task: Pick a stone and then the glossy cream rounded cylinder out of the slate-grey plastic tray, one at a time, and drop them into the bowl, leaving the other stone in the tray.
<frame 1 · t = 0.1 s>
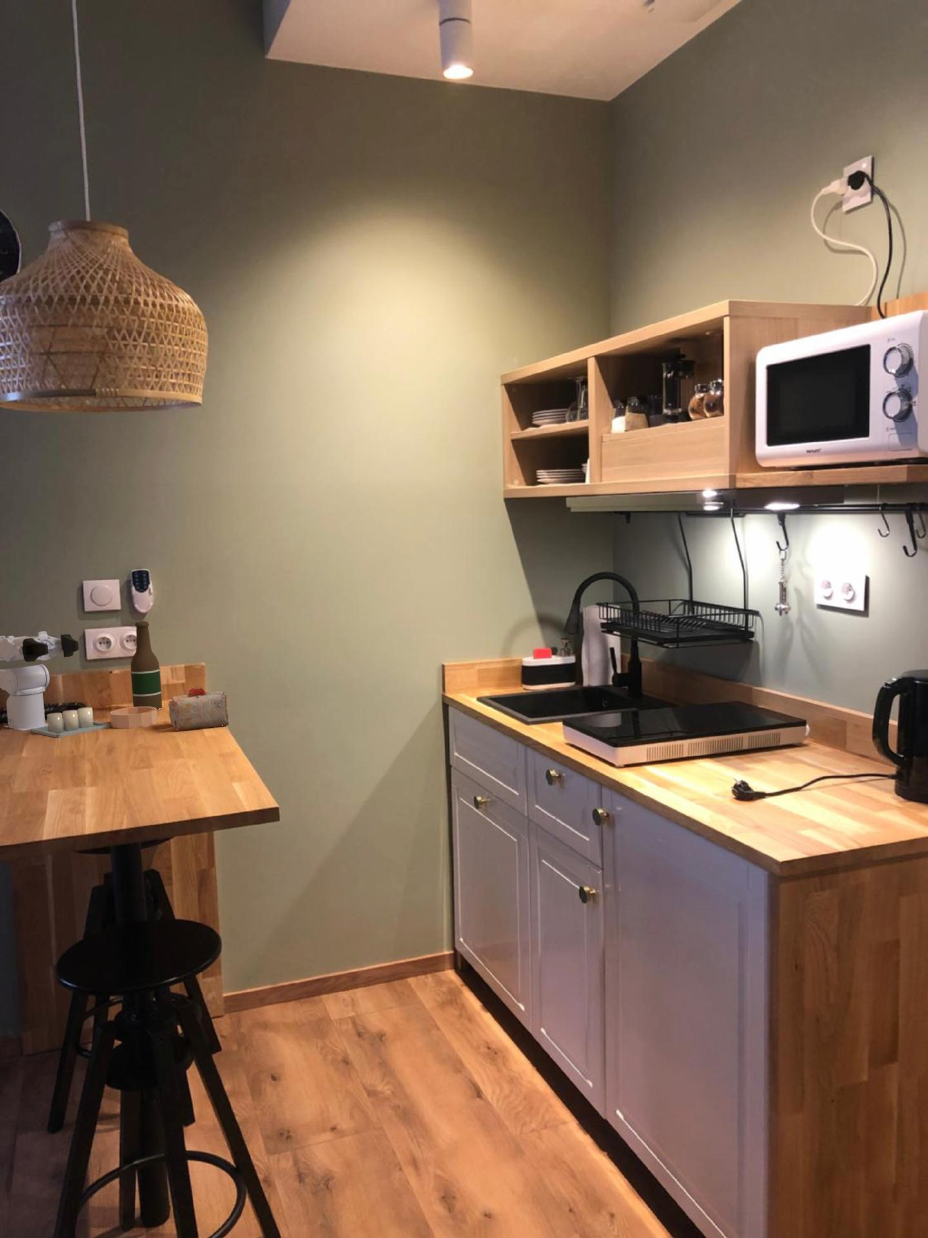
hand: (62, 647, 247), 22 cm above the counter, tool horizontal, fingers open, 7 cm apart
weathered grey box: (199, 728, 255), on the counter
bowl: (134, 725, 259), on the counter
tray: (71, 731, 255), on the counter
beer bottle: (148, 710, 280), on the counter
stone a: (86, 726, 258), resting on tray
stone c: (55, 732, 252), resting on tray
glossy cream rounded cylinder: (71, 729, 255), resting on tray
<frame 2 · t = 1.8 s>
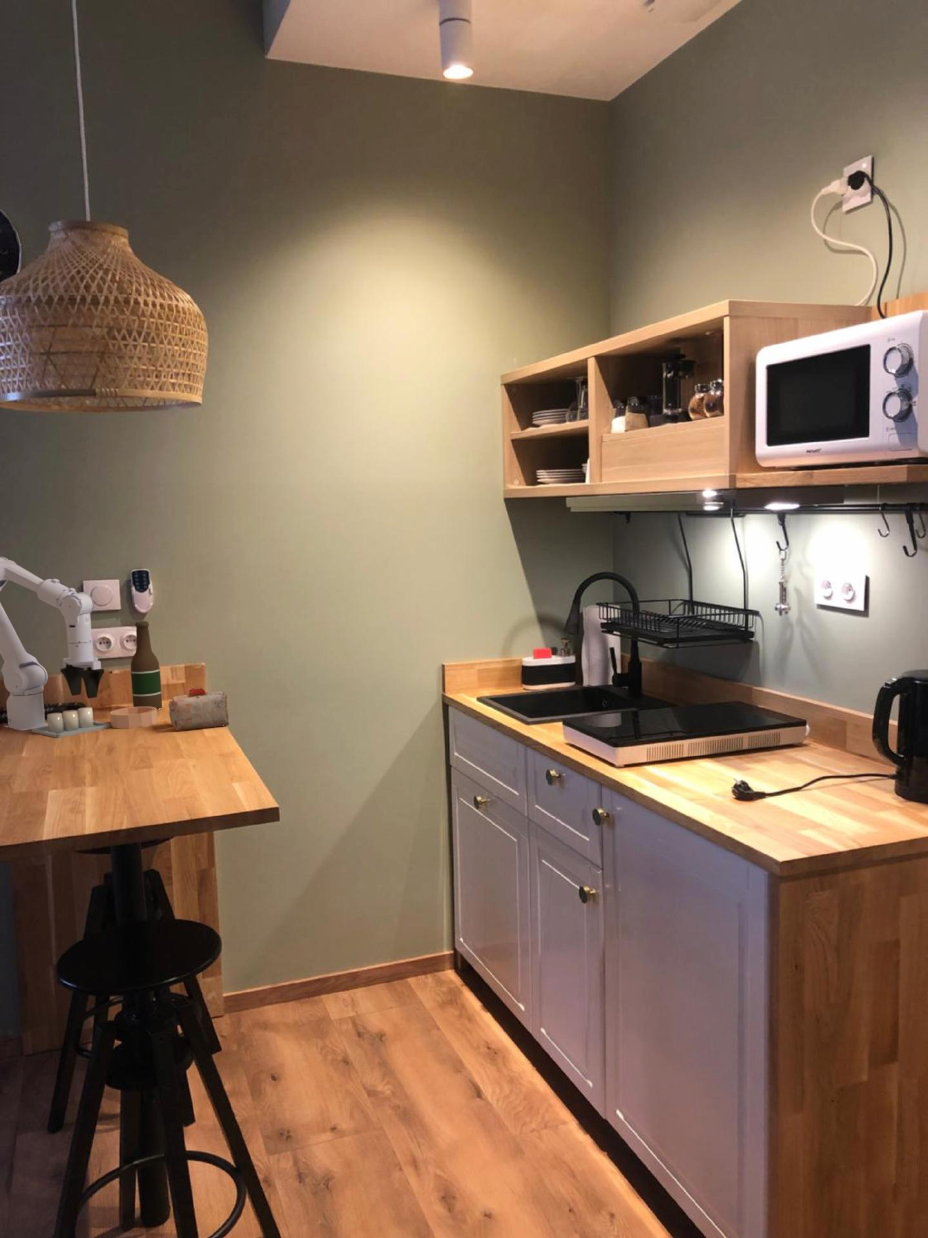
hand: (84, 696, 257), 8 cm above the counter, tool pointing down, fingers open, 7 cm apart
nothing on the counter moved.
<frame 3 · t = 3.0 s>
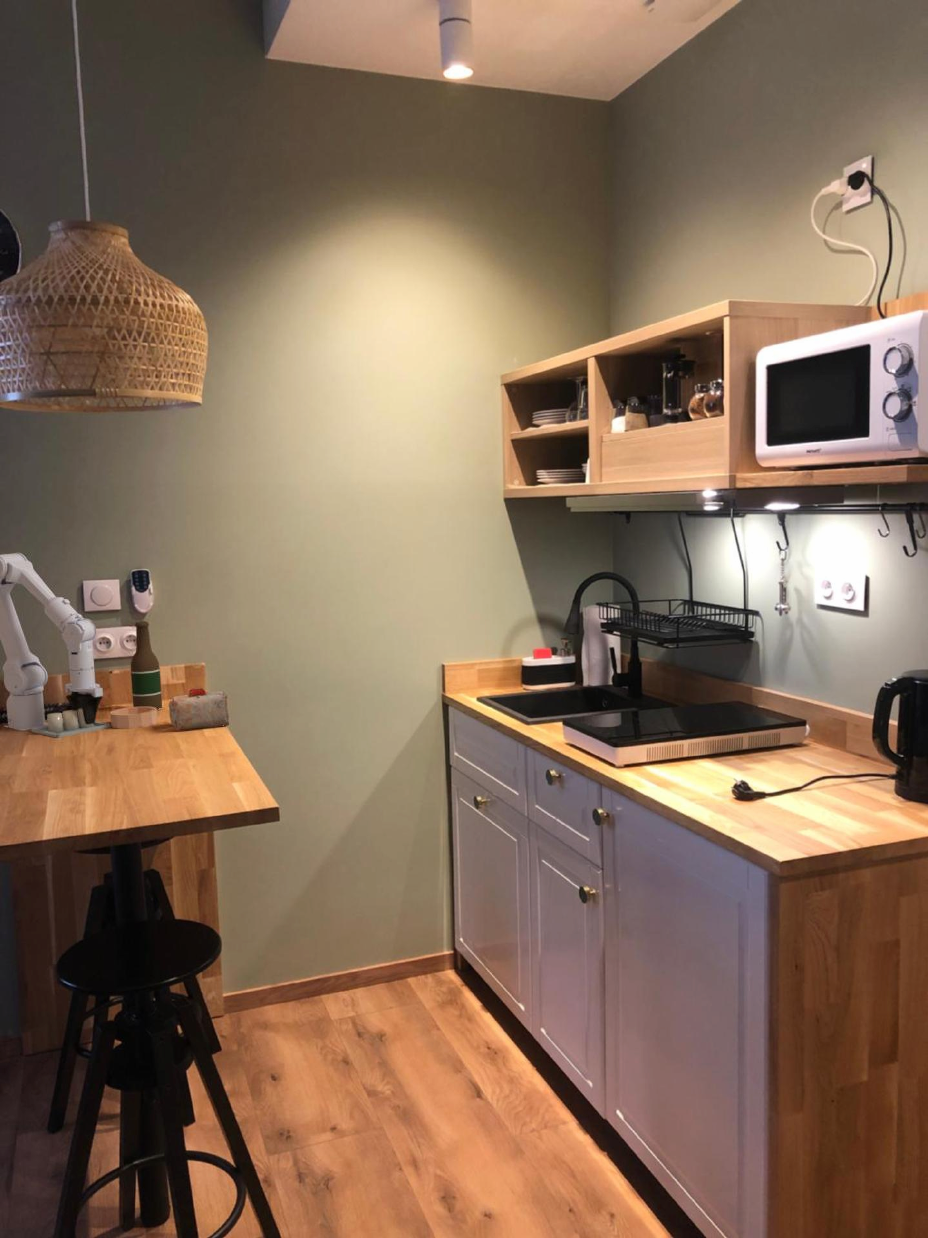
hand: (86, 722, 258), 1 cm above the counter, tool pointing down, fingers closed on stone a, 3 cm apart
stone a: (86, 726, 258), resting on tray, touching gripper
everything else where it was.
when the fingers open (4 cm above the counter, at t = 5.5 s): stone a drops 3 cm, resting on bowl.
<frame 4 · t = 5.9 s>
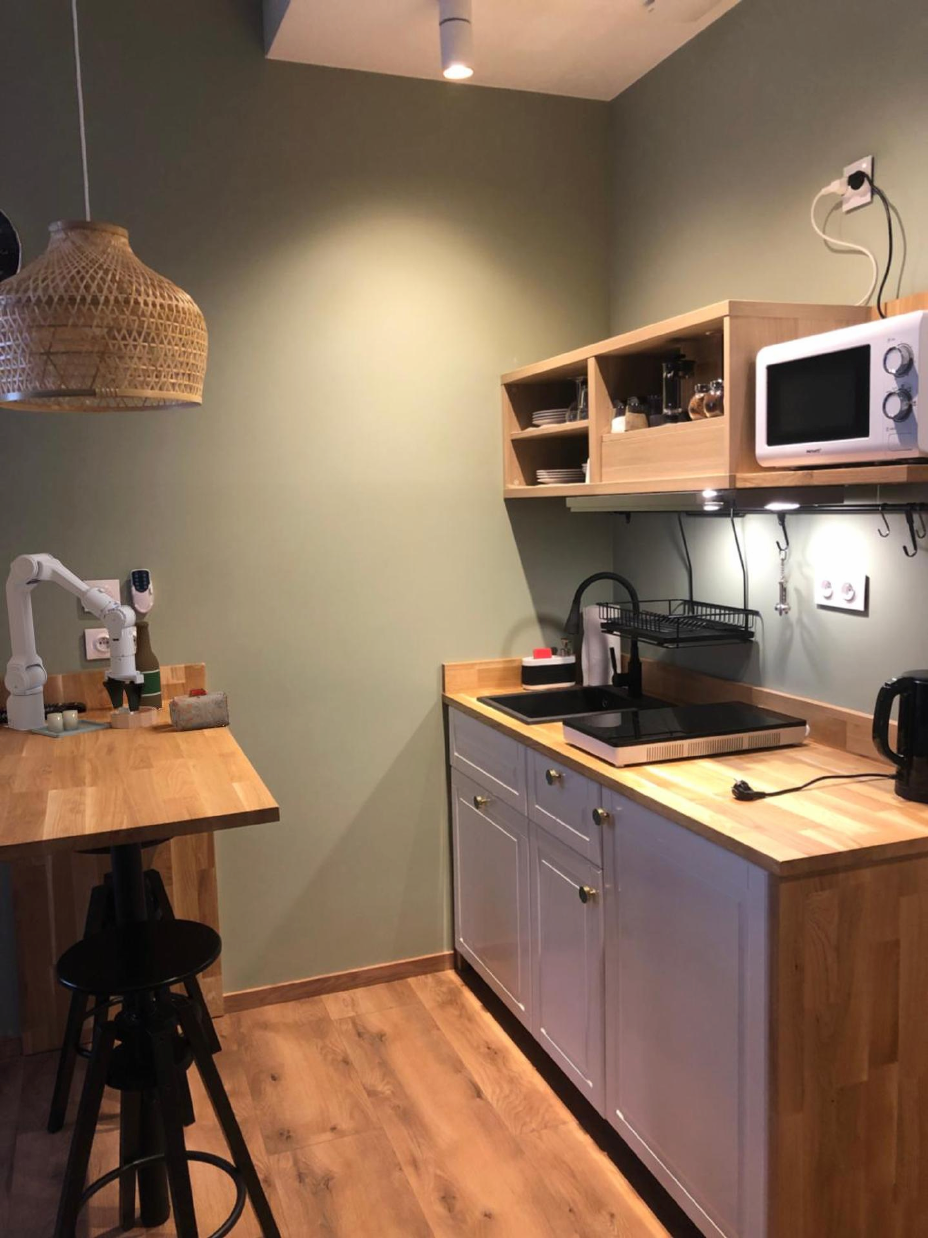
hand: (126, 709, 258), 4 cm above the counter, tool pointing down, fingers open, 7 cm apart
stone a: (127, 724, 258), point 1 cm above the counter, touching bowl
everything else where it was.
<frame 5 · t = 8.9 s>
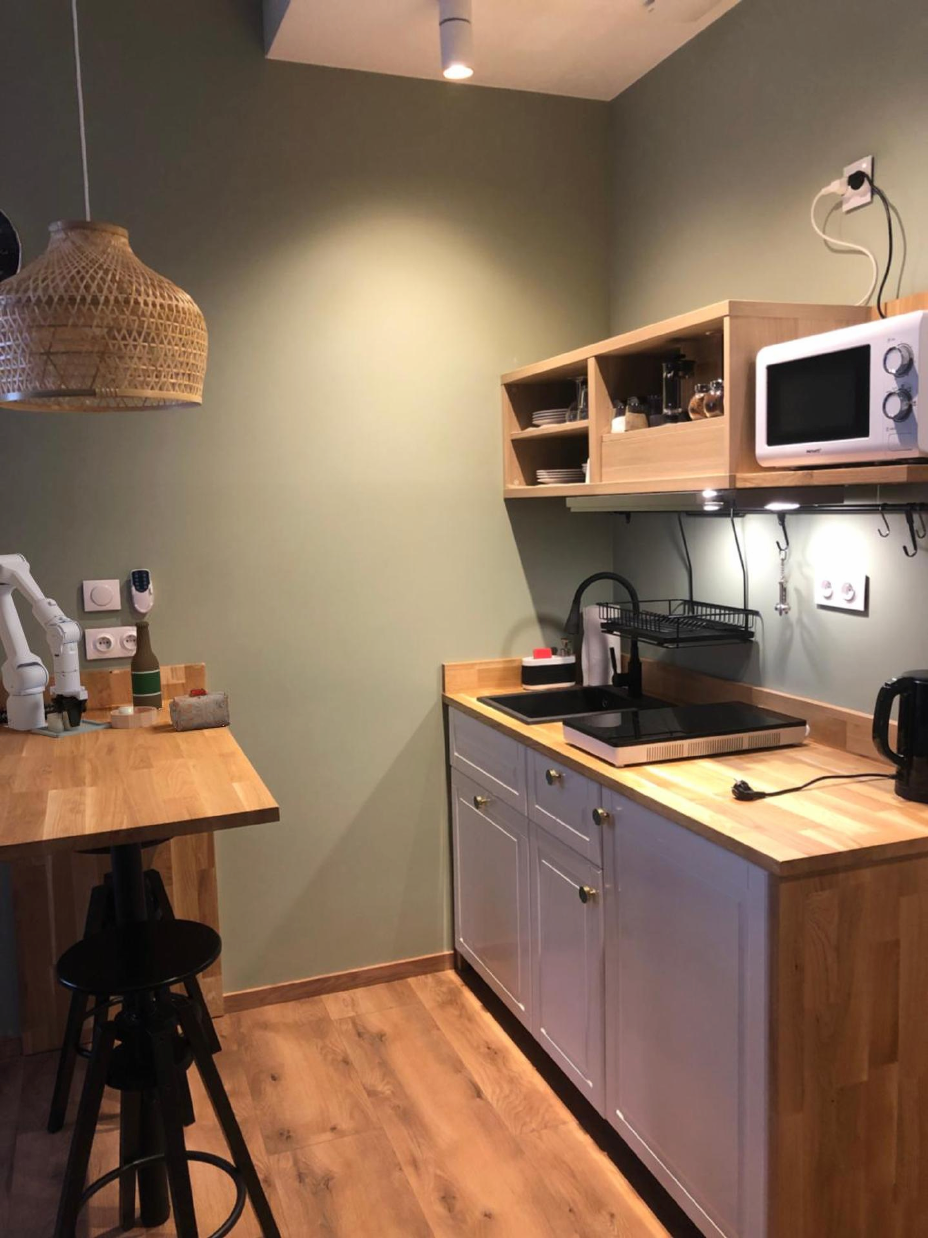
hand: (71, 725, 255), 1 cm above the counter, tool pointing down, fingers closed on glossy cream rounded cylinder, 3 cm apart
glossy cream rounded cylinder: (71, 729, 255), point 1 cm above the counter, touching gripper, tray
everything else where it was.
when the fingers open (4 cm above the counter, at t = 11.5 s): glossy cream rounded cylinder drops 3 cm, resting on bowl.
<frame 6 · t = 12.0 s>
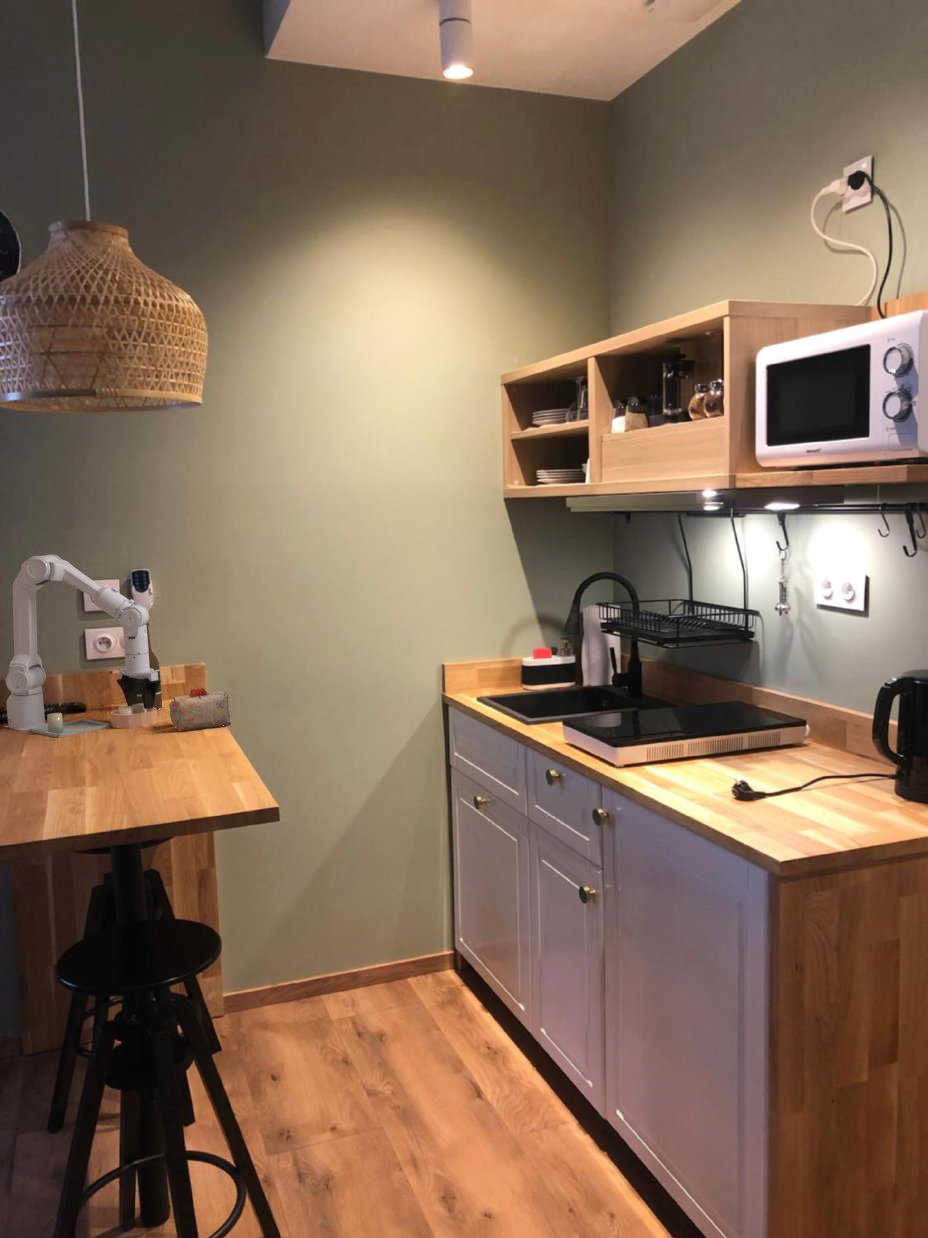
hand: (140, 707, 261), 4 cm above the counter, tool pointing down, fingers open, 7 cm apart
glossy cream rounded cylinder: (140, 722, 261), point 1 cm above the counter, touching bowl
everything else where it was.
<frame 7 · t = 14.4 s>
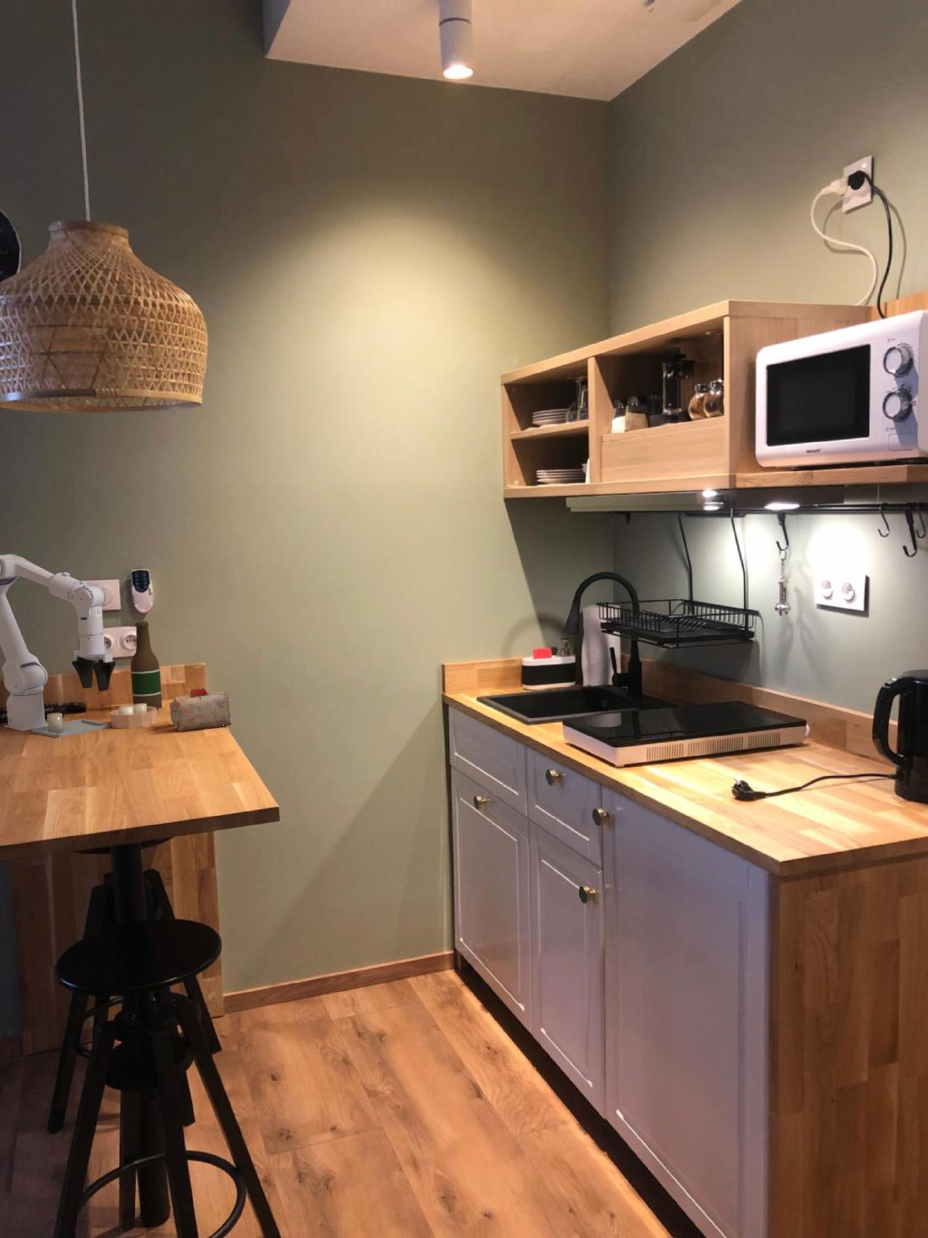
hand: (95, 689, 256), 10 cm above the counter, tool pointing down, fingers open, 7 cm apart
nothing on the counter moved.
at the end: stone a inside the target area on the bowl (2.1 cm from its centre), point 0.6 cm above the bowl's base; glossy cream rounded cylinder inside the target area on the bowl (1.7 cm from its centre), point 0.6 cm above the bowl's base; stone c moved 0.1 cm from its start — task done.
